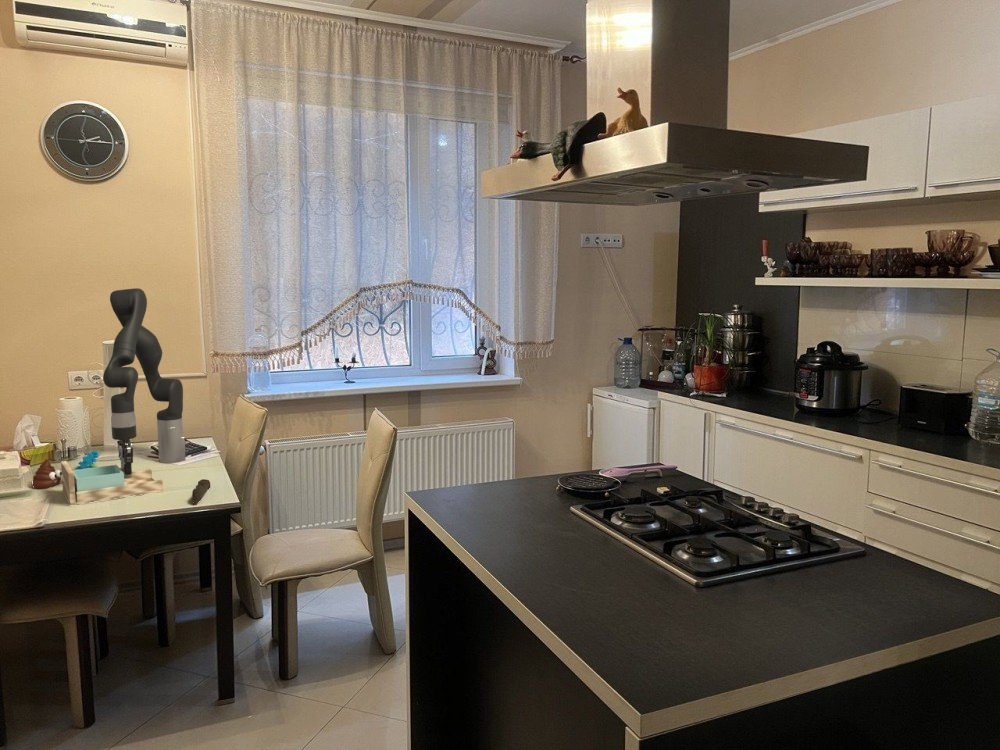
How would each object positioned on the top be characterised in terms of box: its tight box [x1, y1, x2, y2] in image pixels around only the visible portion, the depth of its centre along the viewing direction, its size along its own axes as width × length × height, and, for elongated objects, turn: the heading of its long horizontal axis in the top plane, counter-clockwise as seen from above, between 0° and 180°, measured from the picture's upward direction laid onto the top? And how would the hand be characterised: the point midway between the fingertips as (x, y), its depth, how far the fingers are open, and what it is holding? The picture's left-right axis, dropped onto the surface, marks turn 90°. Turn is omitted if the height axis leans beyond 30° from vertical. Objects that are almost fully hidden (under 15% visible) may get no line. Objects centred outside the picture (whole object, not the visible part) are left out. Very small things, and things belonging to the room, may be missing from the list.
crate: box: [72, 457, 132, 495], centre depth 254 cm, size 18×13×10 cm
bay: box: [60, 460, 164, 506], centre depth 256 cm, size 28×18×11 cm, turn 127°
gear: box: [75, 450, 100, 470], centre depth 283 cm, size 11×6×10 cm
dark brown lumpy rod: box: [191, 479, 211, 505], centre depth 253 cm, size 19×4×5 cm, turn 10°
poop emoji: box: [32, 459, 62, 490], centre depth 263 cm, size 10×8×9 cm
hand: (126, 472), depth 259 cm, fingers open, 5 cm apart
